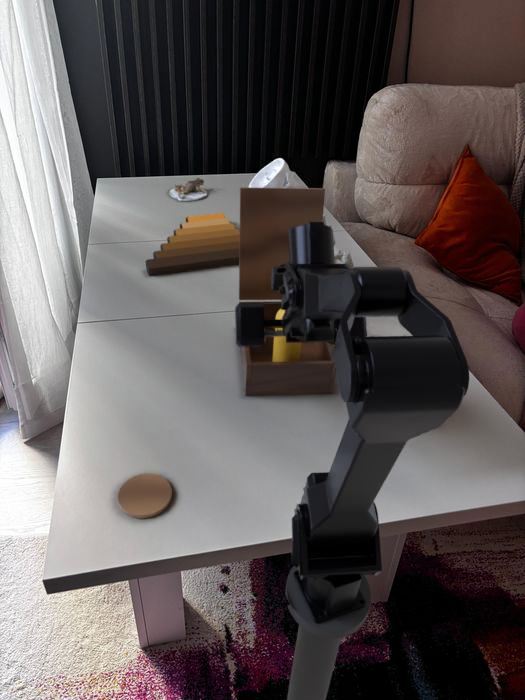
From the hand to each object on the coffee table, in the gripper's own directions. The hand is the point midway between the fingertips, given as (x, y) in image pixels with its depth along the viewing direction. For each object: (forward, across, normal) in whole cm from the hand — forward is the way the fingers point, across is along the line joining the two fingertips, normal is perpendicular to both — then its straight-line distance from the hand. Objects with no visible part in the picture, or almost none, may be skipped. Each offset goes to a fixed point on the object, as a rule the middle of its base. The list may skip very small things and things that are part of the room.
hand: (291, 335), depth 88 cm
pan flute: (+46, +17, -31) cm, 57 cm away
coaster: (-9, +22, +23) cm, 33 cm away
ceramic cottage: (+31, -10, -16) cm, 36 cm away
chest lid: (+8, 0, -18) cm, 19 cm away
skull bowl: (+70, -8, -55) cm, 89 cm away
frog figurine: (+72, +18, -57) cm, 93 cm away
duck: (+9, 0, +4) cm, 10 cm away
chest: (+12, 0, +2) cm, 12 cm away
